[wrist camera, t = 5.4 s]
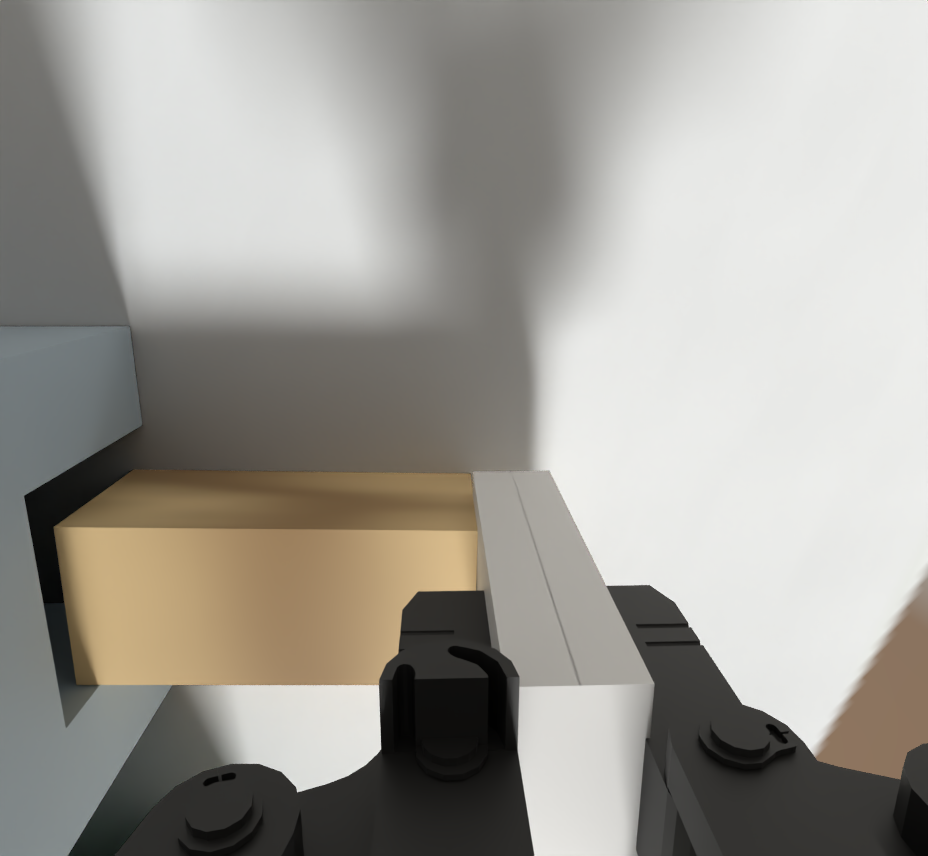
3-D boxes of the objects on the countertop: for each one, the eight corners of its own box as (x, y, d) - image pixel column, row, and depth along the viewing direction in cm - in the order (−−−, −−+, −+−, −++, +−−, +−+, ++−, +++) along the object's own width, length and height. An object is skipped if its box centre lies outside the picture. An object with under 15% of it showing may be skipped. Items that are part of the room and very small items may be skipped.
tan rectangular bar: (148, 598, 15) (76, 684, 12) (134, 468, 14) (53, 527, 11) (466, 600, 15) (472, 684, 12) (470, 472, 14) (478, 531, 11)
